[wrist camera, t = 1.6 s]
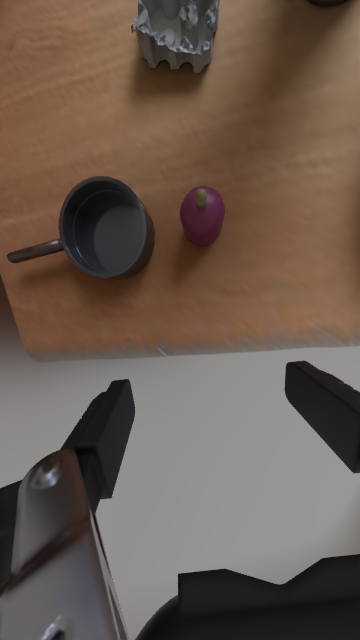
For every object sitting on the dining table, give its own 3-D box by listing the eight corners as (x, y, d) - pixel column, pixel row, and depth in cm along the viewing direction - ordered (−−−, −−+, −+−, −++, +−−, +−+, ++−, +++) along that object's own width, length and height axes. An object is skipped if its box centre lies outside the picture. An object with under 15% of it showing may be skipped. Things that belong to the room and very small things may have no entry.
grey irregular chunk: (138, 68, 26) (126, 29, 22) (149, 1, 25) (138, -54, 21) (208, 79, 25) (208, 40, 21) (224, 10, 24) (228, -46, 20)
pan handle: (16, 264, 32) (6, 263, 30) (13, 254, 32) (2, 252, 30) (72, 249, 30) (64, 247, 28) (69, 238, 30) (61, 235, 28)
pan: (69, 205, 31) (47, 192, 27) (145, 181, 29) (134, 162, 24) (91, 286, 33) (73, 285, 29) (163, 269, 31) (155, 266, 26)
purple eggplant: (182, 213, 29) (168, 170, 18) (217, 203, 28) (225, 151, 17) (188, 250, 30) (179, 229, 19) (223, 241, 29) (234, 214, 18)
